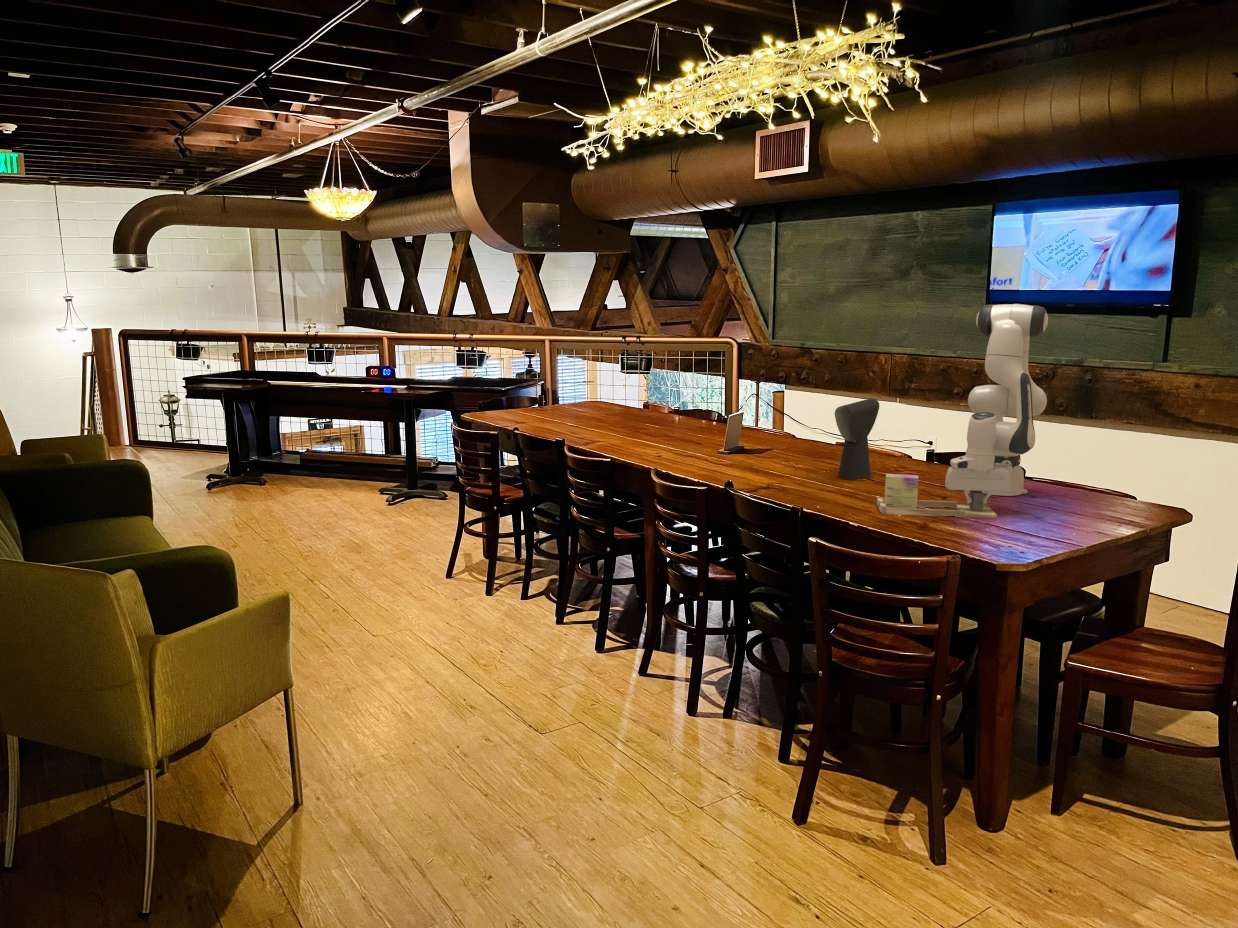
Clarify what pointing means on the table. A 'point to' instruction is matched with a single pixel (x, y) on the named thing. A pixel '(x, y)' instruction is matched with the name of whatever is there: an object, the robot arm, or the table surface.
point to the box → (901, 491)
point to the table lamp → (856, 437)
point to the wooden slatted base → (963, 510)
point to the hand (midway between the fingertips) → (976, 503)
